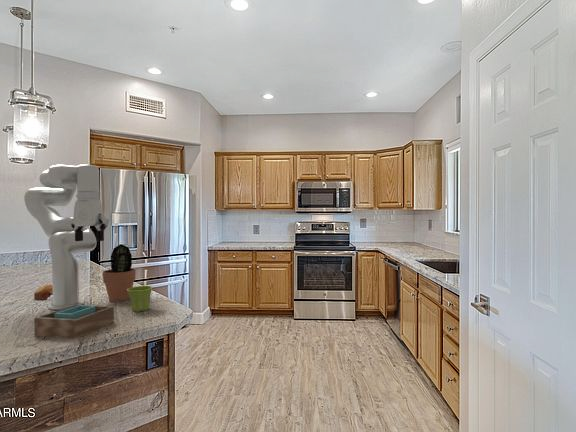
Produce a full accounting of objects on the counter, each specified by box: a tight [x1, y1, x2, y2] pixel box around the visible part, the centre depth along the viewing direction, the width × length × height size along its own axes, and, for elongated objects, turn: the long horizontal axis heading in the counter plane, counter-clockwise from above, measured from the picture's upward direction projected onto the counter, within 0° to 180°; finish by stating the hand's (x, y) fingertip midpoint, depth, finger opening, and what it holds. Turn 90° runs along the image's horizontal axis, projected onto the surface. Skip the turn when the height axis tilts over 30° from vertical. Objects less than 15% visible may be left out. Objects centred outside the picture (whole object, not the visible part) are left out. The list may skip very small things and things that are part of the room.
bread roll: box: [33, 284, 53, 301], centre depth 162 cm, size 10×10×8 cm
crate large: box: [33, 304, 115, 339], centre depth 115 cm, size 16×16×6 cm
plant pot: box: [127, 285, 153, 313], centre depth 137 cm, size 9×9×9 cm
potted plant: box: [102, 243, 137, 303], centre depth 155 cm, size 14×14×25 cm
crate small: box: [54, 304, 96, 319], centre depth 115 cm, size 7×10×6 cm, turn 167°
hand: (89, 240), depth 132 cm, fingers open, 9 cm apart
